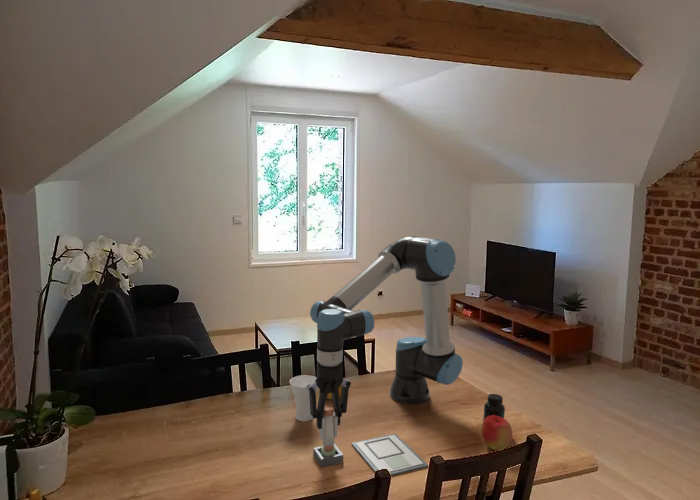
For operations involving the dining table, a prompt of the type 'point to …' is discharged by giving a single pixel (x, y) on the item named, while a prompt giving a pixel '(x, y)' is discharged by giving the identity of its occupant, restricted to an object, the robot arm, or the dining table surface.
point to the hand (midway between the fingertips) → (328, 436)
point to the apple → (496, 432)
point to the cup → (302, 396)
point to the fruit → (338, 391)
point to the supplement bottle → (494, 406)
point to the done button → (327, 452)
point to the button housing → (327, 460)
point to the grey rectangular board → (389, 454)
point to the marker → (329, 429)
